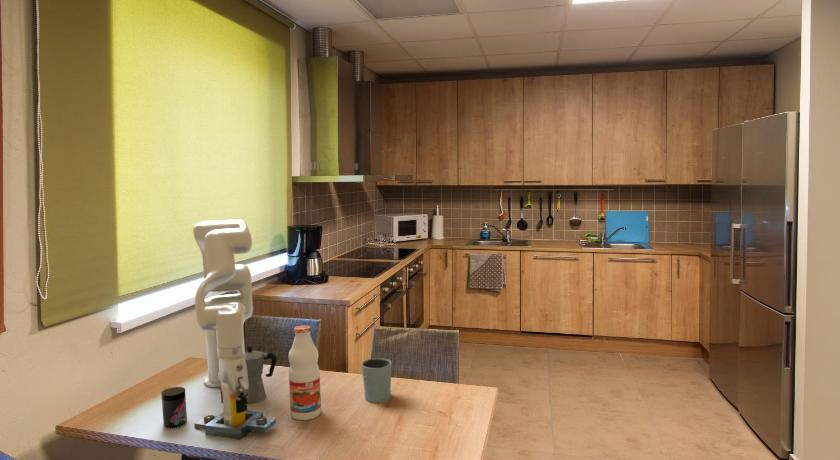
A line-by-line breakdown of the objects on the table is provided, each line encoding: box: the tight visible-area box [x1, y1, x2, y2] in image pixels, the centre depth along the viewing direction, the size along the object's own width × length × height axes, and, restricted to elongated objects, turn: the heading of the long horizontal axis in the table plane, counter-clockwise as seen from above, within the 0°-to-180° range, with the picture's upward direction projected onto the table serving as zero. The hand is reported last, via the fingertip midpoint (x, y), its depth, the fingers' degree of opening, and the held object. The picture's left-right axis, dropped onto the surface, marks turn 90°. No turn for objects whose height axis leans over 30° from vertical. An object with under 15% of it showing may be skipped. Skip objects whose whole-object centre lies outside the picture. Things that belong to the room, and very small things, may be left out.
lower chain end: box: [193, 414, 253, 441], centre depth 170 cm, size 18×12×2 cm, turn 74°
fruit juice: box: [288, 324, 322, 421], centre depth 177 cm, size 9×9×28 cm
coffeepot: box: [244, 345, 278, 405], centre depth 190 cm, size 15×9×18 cm, turn 92°
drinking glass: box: [361, 357, 393, 404], centre depth 190 cm, size 10×10×12 cm
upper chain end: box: [204, 409, 277, 435], centre depth 168 cm, size 18×12×2 cm, turn 74°
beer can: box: [221, 381, 245, 426], centre depth 169 cm, size 6×6×15 cm
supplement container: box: [160, 386, 188, 429], centre depth 173 cm, size 7×7×10 cm
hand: (234, 406), depth 169 cm, fingers open, 9 cm apart
